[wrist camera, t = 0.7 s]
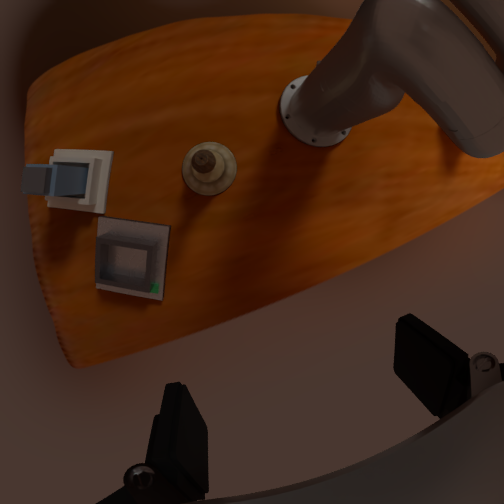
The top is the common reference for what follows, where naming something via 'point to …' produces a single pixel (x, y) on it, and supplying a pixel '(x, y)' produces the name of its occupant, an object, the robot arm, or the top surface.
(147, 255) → the port
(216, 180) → the hand bell
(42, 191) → the plug
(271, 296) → the top surface
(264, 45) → the top surface
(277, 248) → the top surface
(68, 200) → the box
